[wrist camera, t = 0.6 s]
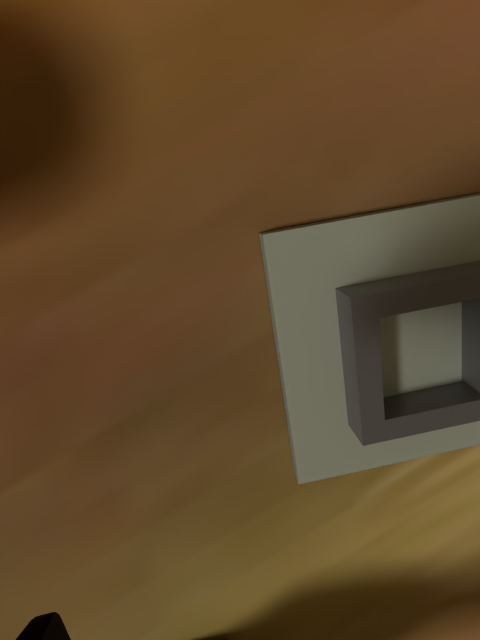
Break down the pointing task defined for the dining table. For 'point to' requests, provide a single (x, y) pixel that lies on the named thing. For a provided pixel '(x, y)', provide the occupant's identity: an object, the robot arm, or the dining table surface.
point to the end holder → (378, 335)
